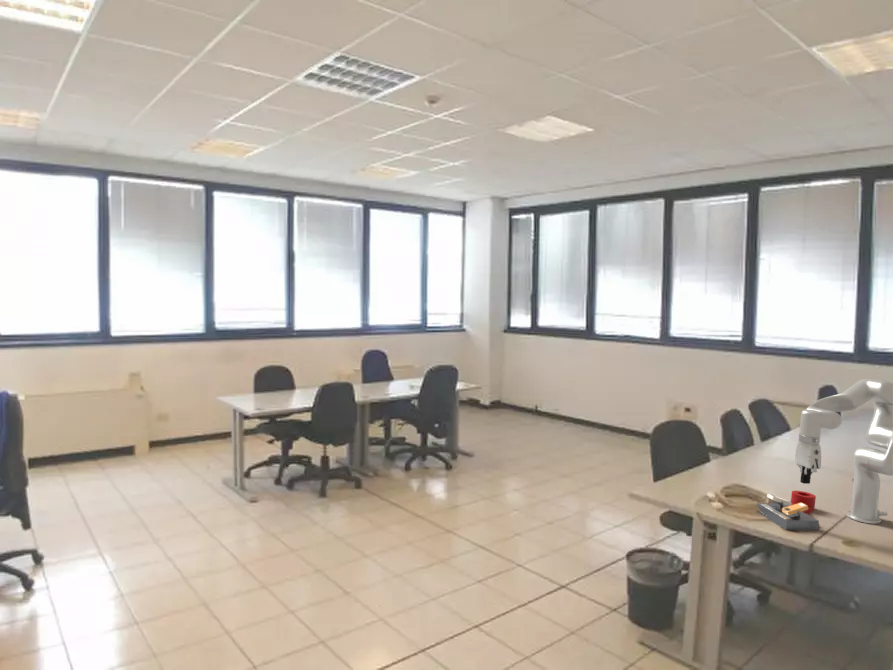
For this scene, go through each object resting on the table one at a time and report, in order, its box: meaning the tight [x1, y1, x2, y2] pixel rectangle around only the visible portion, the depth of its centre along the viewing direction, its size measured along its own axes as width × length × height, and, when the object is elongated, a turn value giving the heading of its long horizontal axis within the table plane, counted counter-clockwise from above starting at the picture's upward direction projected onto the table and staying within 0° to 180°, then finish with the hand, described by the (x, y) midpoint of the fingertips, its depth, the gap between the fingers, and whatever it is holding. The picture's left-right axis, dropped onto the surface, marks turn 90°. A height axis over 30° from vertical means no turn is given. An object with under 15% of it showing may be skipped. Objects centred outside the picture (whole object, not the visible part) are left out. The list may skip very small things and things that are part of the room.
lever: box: [790, 490, 817, 515], centre depth 271 cm, size 18×9×7 cm, turn 143°
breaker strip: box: [756, 500, 820, 531], centre depth 258 cm, size 14×20×6 cm
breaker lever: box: [782, 502, 808, 515], centre depth 253 cm, size 9×5×2 cm, turn 95°
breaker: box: [766, 493, 791, 506], centre depth 264 cm, size 9×5×2 cm, turn 96°
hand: (805, 482), depth 252 cm, fingers closed
